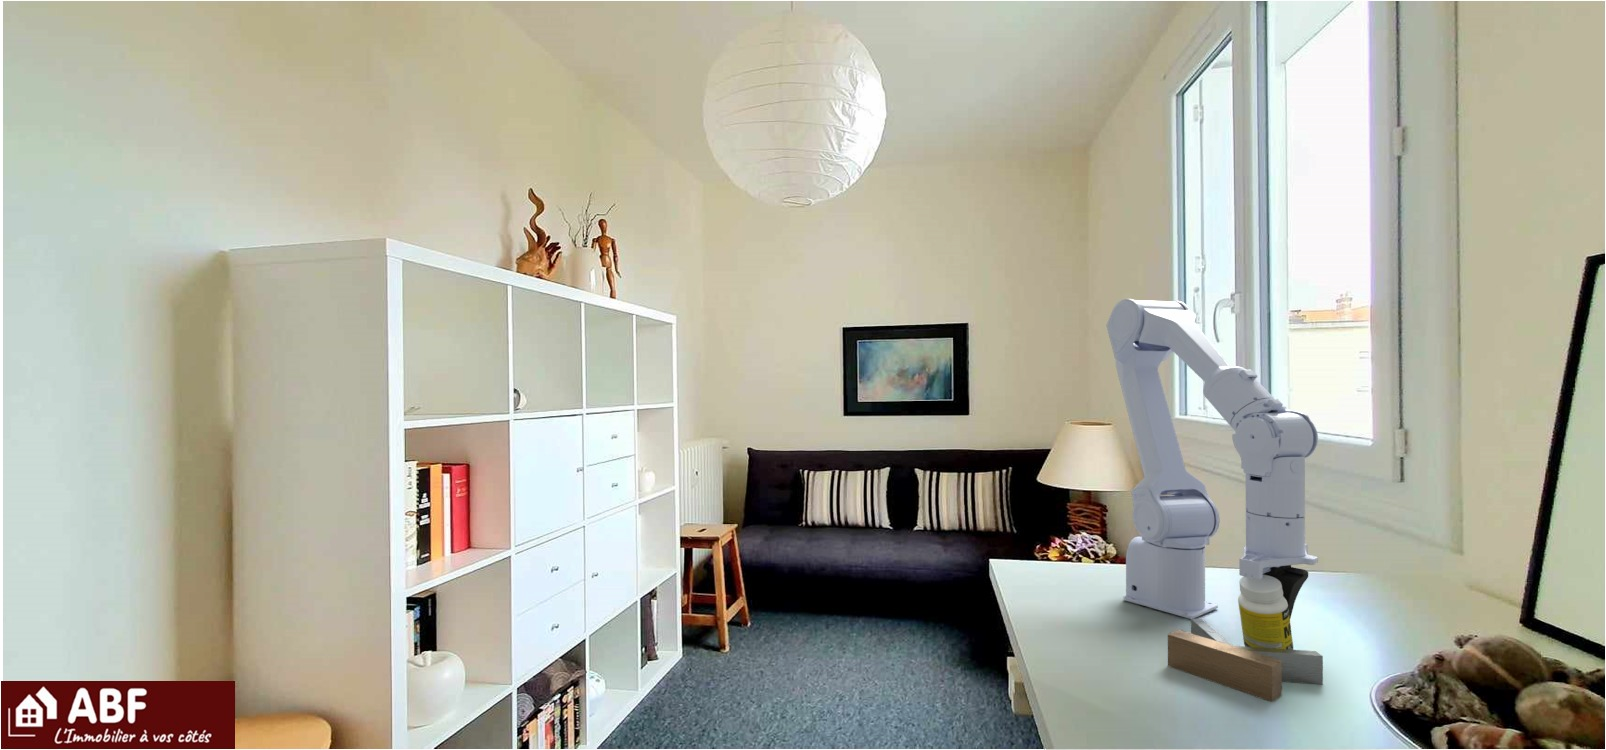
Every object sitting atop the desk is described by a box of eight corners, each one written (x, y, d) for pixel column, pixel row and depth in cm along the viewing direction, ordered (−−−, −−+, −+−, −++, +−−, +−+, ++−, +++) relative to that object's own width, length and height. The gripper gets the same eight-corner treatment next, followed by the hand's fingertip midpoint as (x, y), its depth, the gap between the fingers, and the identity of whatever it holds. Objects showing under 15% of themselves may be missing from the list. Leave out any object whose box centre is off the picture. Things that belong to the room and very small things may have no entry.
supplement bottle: (1297, 663, 73) (1289, 595, 71) (1246, 659, 75) (1237, 593, 74) (1290, 637, 77) (1281, 572, 75) (1242, 634, 79) (1233, 571, 78)
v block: (1154, 660, 74) (1154, 629, 74) (1194, 641, 79) (1194, 612, 79) (1290, 708, 63) (1290, 672, 63) (1325, 682, 69) (1325, 649, 69)
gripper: (1291, 527, 70) (1292, 655, 70) (1337, 512, 78) (1338, 625, 78) (1218, 516, 76) (1219, 634, 75) (1269, 503, 84) (1270, 609, 84)
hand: (1275, 628), depth 77 cm, fingers closed, pressing on supplement bottle
